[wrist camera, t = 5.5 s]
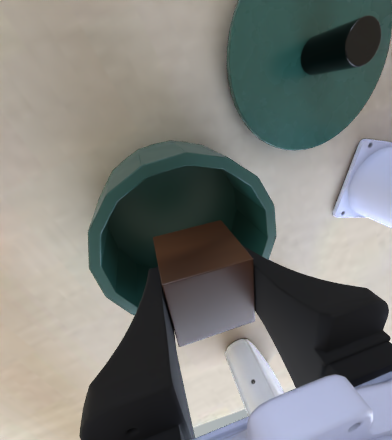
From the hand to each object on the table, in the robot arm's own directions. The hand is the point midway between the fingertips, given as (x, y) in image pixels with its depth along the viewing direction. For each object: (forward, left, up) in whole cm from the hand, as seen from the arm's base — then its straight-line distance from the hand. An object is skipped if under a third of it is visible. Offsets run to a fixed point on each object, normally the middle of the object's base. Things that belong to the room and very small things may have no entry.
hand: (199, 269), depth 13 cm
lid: (-9, -13, -7) cm, 17 cm away
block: (0, 0, -1) cm, 1 cm away
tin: (0, 0, -8) cm, 8 cm away
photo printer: (-12, +22, -8) cm, 26 cm away
